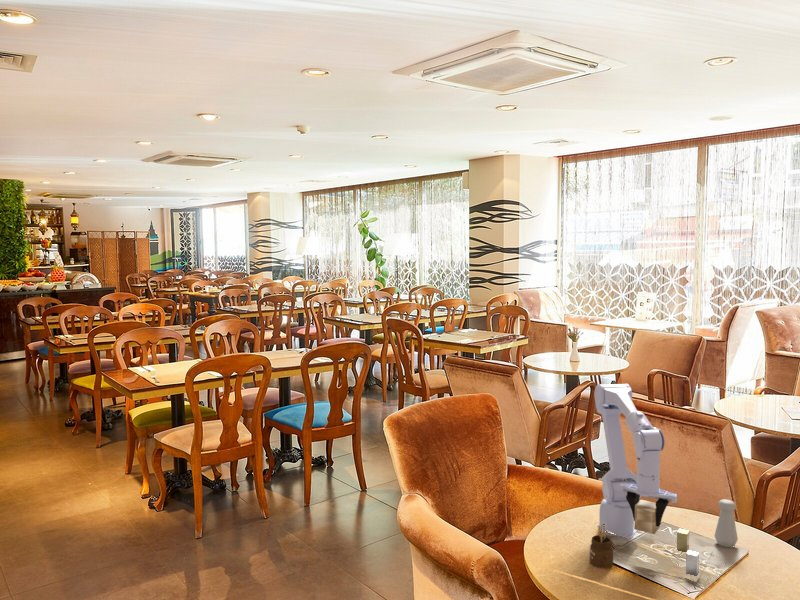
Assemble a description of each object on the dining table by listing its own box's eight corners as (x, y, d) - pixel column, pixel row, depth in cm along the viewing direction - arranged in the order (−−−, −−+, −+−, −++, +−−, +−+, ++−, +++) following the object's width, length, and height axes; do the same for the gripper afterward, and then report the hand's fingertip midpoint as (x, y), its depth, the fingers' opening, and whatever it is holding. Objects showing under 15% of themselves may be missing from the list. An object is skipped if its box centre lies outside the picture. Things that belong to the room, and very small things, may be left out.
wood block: (634, 529, 174) (634, 505, 174) (640, 522, 178) (640, 499, 178) (654, 534, 171) (654, 510, 170) (659, 527, 175) (660, 503, 175)
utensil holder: (613, 560, 175) (613, 517, 174) (612, 571, 169) (613, 527, 168) (590, 557, 176) (590, 515, 176) (589, 568, 171) (589, 524, 170)
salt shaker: (739, 551, 179) (741, 505, 178) (717, 549, 180) (719, 504, 179) (733, 541, 185) (734, 497, 184) (712, 540, 186) (713, 496, 185)
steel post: (685, 573, 166) (686, 553, 166) (688, 569, 168) (688, 549, 168) (696, 576, 165) (697, 556, 164) (698, 572, 167) (699, 552, 166)
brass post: (676, 551, 179) (677, 531, 178) (678, 547, 181) (679, 528, 181) (686, 553, 177) (687, 534, 177) (688, 549, 179) (689, 530, 179)
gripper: (616, 472, 174) (615, 521, 176) (672, 483, 166) (671, 534, 167) (624, 465, 180) (623, 512, 181) (679, 475, 172) (678, 525, 173)
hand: (647, 522), depth 174 cm, fingers closed on wood block, 5 cm apart
